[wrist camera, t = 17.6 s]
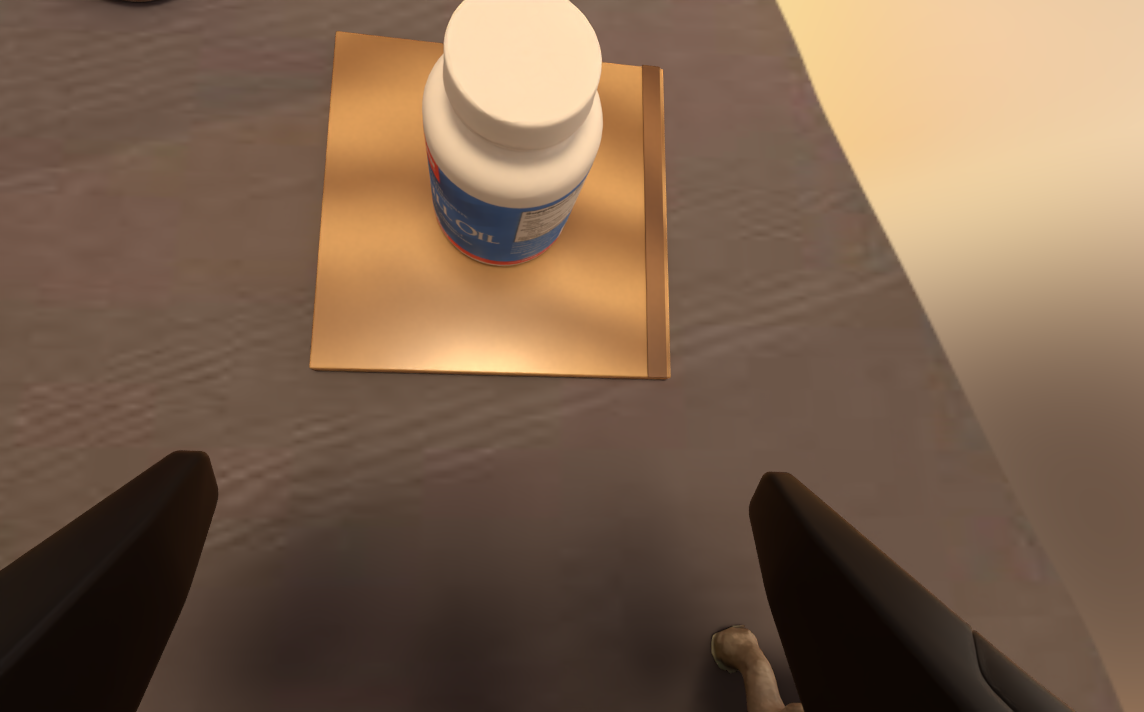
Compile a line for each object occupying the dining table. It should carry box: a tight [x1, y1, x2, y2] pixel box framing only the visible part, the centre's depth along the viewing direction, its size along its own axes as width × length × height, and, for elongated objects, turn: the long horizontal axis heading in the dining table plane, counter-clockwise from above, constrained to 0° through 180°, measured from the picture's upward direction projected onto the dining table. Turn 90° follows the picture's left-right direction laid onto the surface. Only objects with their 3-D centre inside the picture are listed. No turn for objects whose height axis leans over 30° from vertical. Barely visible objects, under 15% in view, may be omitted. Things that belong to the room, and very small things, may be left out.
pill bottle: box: [422, 0, 603, 266], centre depth 19 cm, size 6×5×10 cm
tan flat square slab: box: [309, 31, 671, 379], centre depth 24 cm, size 14×14×1 cm
